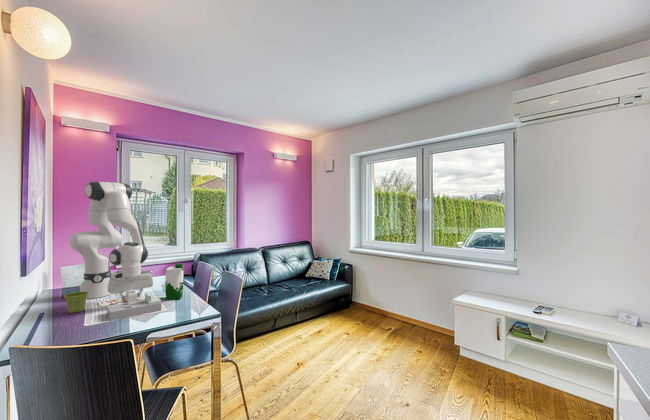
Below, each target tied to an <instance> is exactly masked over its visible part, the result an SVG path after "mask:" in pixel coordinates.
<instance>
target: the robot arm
mask: <svg viewBox="0 0 650 420" xmlns="http://www.w3.org/2000/svg"><path fill="white" fill-rule="evenodd" d="M85 186H86V187H85V195H86V197H87V198H88V199H89V200H90V201H89V206H88V214H87V215H88V216H87V221H88V223H89V224H91V225H92V226H95V227H97V228H98V229H97V230H96V231H95V230H94V231H81V232H76V233H73V234H72V235H70V238H69V246H70V248H71V249H72V250H74V251H76V252H77V253H79V254H80V255H81V257H82V258H83V261H84V274H83V282H81V283H80V285H79V292H89V293H88V295H87V297H86V300H88V299H90V300H91V299H98V298H103V297H107V296H110V295H112V294H115V293H116V294H117V293H118V294H119V296H120V299H121V301H122V300H124V299H126V294H124V295H123V293H124V292H126V291H132V290H134V291H135V290H139V292H138V293H137V292H136V293H137V298H140V297H141V294H142V292H143V291H144V289H147V288H152V287H153V285H154V280H153V278H154V272H153V271H151V270H142V264H143V263H144V262H145V261H146V260H147V259H148V257H149V252H148V249H147V247H146V245H145V242H144V237H143V233H142V231H141V226H140V224H139V221H138V220H137V219H135V218H134V216H133V214H132V210H131V203H130V199H131V197H132V196H133V189H132V187H131V186H130V185H129V184H127V183H124V182H123V183H122V182H121V183H119V182H114V181H91V182H88V184H87V185H85ZM115 226H116V227H117V228H121V229H124V230H126V231H128V232H129V233H130V234H129V235H130V236H131V240H132V241H128V242H124V243H122V242H123V235H122V234H121V233H120V231H119V230H117V229H116V228H115ZM121 244H122V245H121ZM120 245H121V246H120ZM116 247H118V248H116ZM112 248H114V249H113V250H111V252H110V253H109V258H108V257H107V256H105V255H103V254H100V253H99V252H98V250H102V249H103V250H104V249H112ZM109 262H110V263H111V264H112V265H113V266H121V269H120V270H118V271H115V272H112V273H111V274H110V271H109ZM110 277H111V278H110Z"/></svg>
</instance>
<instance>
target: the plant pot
mask: <svg viewBox="0 0 650 420" xmlns="http://www.w3.org/2000/svg"><path fill="white" fill-rule="evenodd" d="M88 293H89V292H80V291H76V292H70V293H67V294H65V295H64V296H63V297H64V299H65V301H66V306H67V312H68V313H70V314H74V313H80V312H82V311H84V310H85V309H86V302H87V299H86V297H87V295H88Z"/></svg>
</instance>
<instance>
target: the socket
mask: <svg viewBox="0 0 650 420" xmlns="http://www.w3.org/2000/svg"><path fill="white" fill-rule="evenodd" d="M106 307H107V309H106V310H107V311H106V312H107V317H108V319H109V321H110V322H111V321H117V320H121V319H125V318H132V317H135V316H140V315H146V314H150V313H155V312H159V311H160V312H161V311H162V301H161V302H159V303H153V304H148V303H147V302H146V301H145V299H140V300H139V299H138V301H133V302H127V303H118V304H117V303H115V304H112V305H110V304H109V305H107V306H106Z"/></svg>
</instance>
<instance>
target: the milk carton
mask: <svg viewBox="0 0 650 420" xmlns="http://www.w3.org/2000/svg"><path fill="white" fill-rule="evenodd" d="M164 290H165V299H166V300H165V301H180V300H181V299H182V297H183V293H184V266H183V263H175V264H174V266H169V267H167V268H166V269H165V289H164Z"/></svg>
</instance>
